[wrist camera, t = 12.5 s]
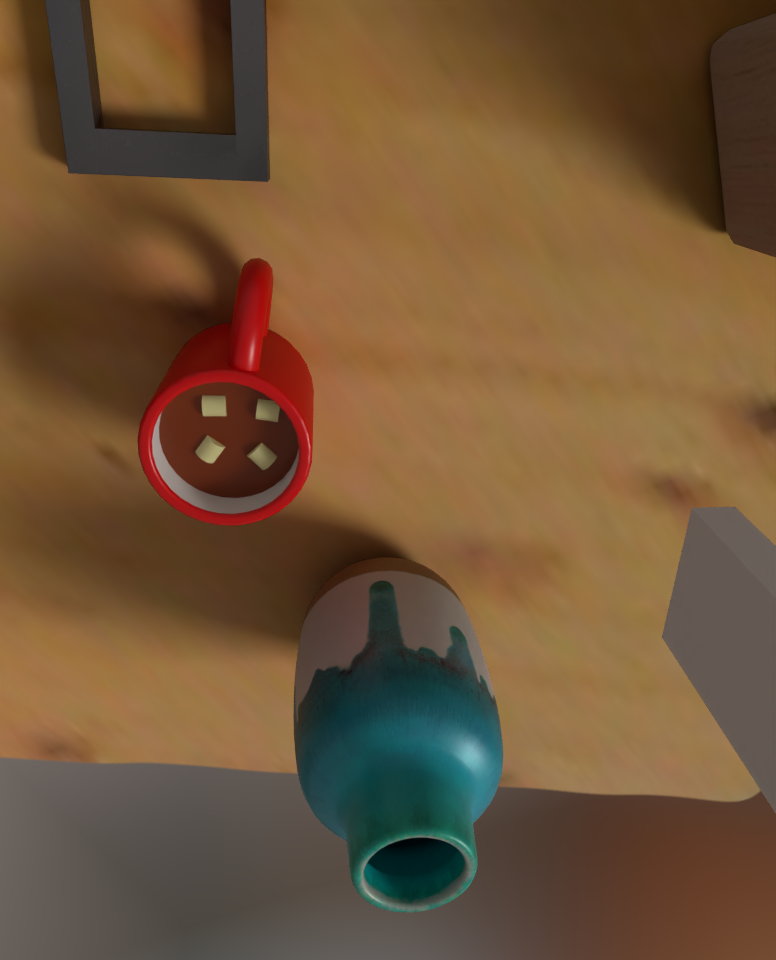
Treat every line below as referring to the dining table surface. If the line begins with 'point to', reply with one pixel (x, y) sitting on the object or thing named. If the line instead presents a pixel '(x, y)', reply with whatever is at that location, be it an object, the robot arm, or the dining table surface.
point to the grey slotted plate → (154, 148)
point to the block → (747, 130)
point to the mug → (232, 416)
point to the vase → (396, 730)
